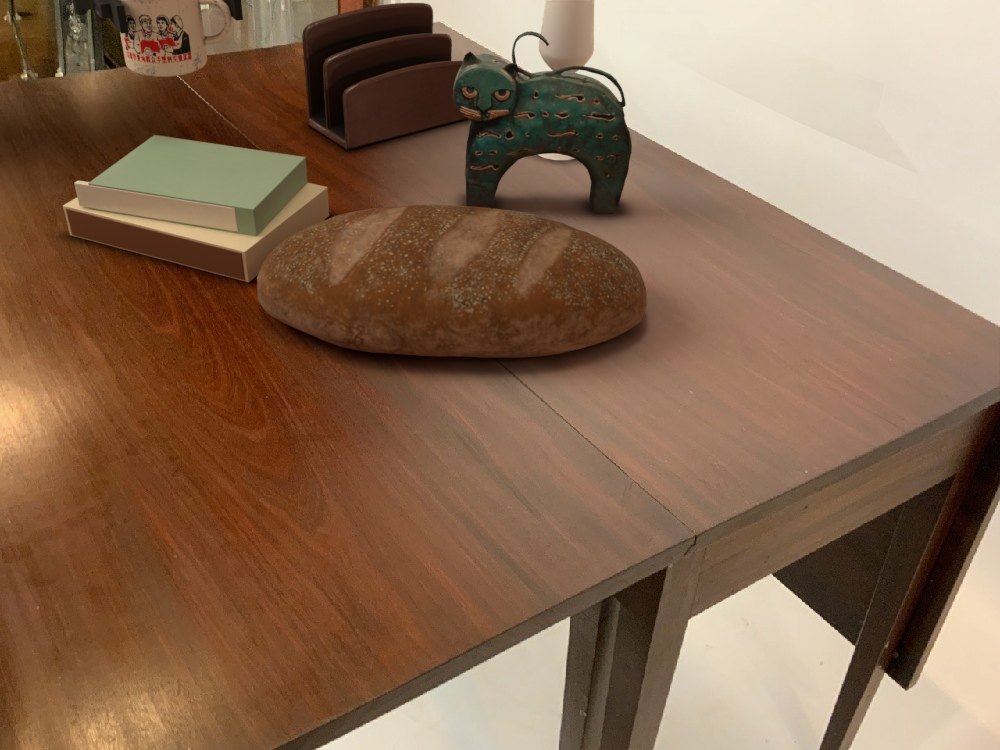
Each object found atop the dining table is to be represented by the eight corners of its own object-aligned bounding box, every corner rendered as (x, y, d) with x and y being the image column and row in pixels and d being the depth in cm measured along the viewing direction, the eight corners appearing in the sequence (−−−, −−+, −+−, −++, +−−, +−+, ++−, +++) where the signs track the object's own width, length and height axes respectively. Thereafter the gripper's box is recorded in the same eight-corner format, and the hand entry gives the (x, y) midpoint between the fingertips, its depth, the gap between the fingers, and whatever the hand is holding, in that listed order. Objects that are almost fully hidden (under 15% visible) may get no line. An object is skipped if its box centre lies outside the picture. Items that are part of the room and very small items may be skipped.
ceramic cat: (450, 215, 110) (453, 36, 98) (452, 189, 115) (455, 17, 103) (625, 220, 111) (649, 44, 99) (619, 195, 116) (640, 24, 104)
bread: (282, 243, 103) (274, 169, 98) (630, 255, 104) (640, 183, 99) (238, 365, 85) (226, 282, 80) (657, 378, 87) (671, 298, 81)
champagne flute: (582, 140, 129) (601, -53, 114) (584, 161, 123) (605, -39, 109) (531, 137, 128) (544, -56, 114) (531, 158, 123) (545, -42, 109)
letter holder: (307, 125, 128) (298, 16, 120) (429, 96, 139) (429, -6, 130) (347, 151, 122) (341, 39, 114) (472, 119, 133) (475, 13, 124)
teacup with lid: (116, 78, 103) (94, -38, 96) (132, 50, 110) (113, -60, 103) (232, 79, 104) (218, -35, 97) (240, 51, 112) (228, -57, 105)
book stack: (69, 235, 102) (55, 178, 99) (165, 176, 115) (156, 124, 111) (248, 283, 96) (240, 224, 93) (329, 215, 109) (325, 161, 105)
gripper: (232, -15, 123) (293, 36, 108) (32, 4, 113) (69, 64, 98) (224, -79, 118) (288, -35, 104) (16, -65, 108) (52, -14, 93)
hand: (182, 13), depth 101 cm, fingers closed on teacup with lid, 11 cm apart
